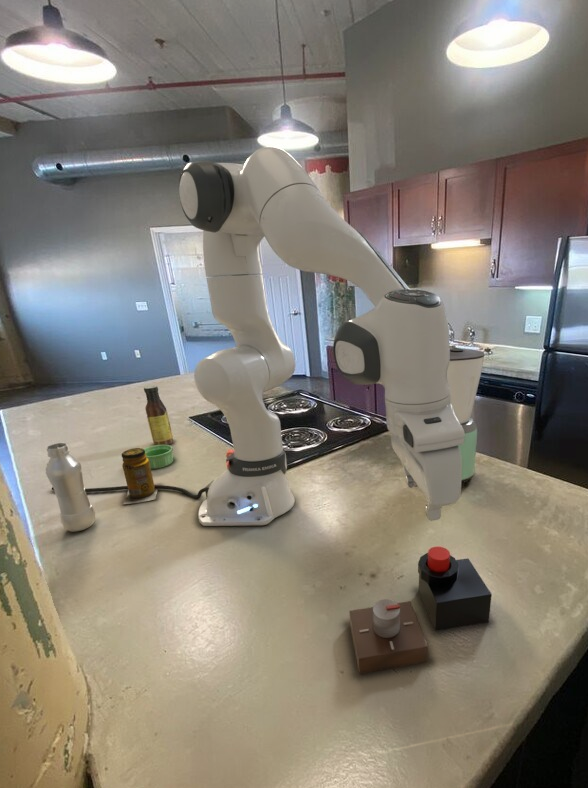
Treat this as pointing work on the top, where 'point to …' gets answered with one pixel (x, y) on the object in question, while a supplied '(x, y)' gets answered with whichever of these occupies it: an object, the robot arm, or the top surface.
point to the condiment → (138, 476)
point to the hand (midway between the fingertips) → (422, 500)
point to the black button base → (454, 594)
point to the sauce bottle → (157, 417)
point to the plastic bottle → (69, 488)
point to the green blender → (465, 400)
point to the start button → (438, 559)
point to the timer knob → (386, 618)
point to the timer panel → (387, 641)
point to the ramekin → (159, 455)
